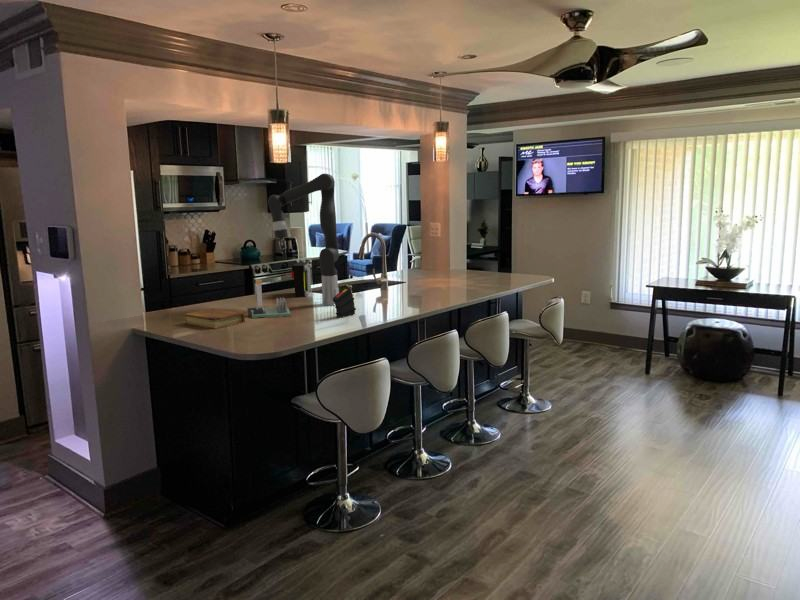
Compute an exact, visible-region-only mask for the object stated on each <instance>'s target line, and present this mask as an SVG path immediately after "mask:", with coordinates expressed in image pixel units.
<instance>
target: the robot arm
mask: <svg viewBox="0 0 800 600" xmlns="http://www.w3.org/2000/svg"><path fill="white" fill-rule="evenodd" d="M335 183H336V182H335V179H334V177H333V175H331V174H329V173H321V174H319V175H318V176H317V177H315V178H313V179H312V180H309V181H307V182H305V183H303V184H301V185H298V186H295V187H292V188H290V189H287V190H284V192H283V193H281V194H278V195H277V194H272V195H270V196H268V200H267V204H268V208H269V211H270V214H271V218H272V219H271V220H272V226H273V235H274V239H276V240H277V239H279V241H278V245H279V249H280V252H281V254H282V255H281V256H282V259H283V260H284V261H285V260H287V259H288V255H287V240H285V238H288V237H289V234H288V227H287V223H286V218H285V214H284V212H283V210H282V208H283V207H285V206H286V205H288V204H290V203H292V202H294V201H298V200H299V199H302V198H304V197H306V196H307V195H309V194H311V193H315V192H318V191H320V194H321V202H320V207H319V208H320V209H319V222H320V223H319V224H320V225H319V226H320V228H321V231H322V233H323V236H324V241H325V248H323V249H321V250H320V252H319V256H318V257H319V269H320V272H321V298H322V300H321V303H322V305H324V306H335V305H334V304H335V302H333V297H335V296H336V295H337V294H338V293H340V287H339V286H338V285H339V284H338V283H339V282H338V270H337V268H336V267H335V263H336V262H337V261H338V259H339V257H340V252H339V245H338V237H337V233H338V232H337V215H336V205H335Z"/></svg>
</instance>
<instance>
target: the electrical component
mask: <svg viewBox="0 0 800 600" xmlns="http://www.w3.org/2000/svg"><path fill="white" fill-rule="evenodd" d="M311 268H312V264H311V263H310V262H308V261H307V262H305V261H304V262H303V261H302V262H301V261H300V262H296V263H295V262H294V264H292V265H291V272H290V274H291V278H292V279H293V283H294V298H306V297H307V296H309V294H310V293H311V292H313V289H312V285H311V284H312V283H311V282H312V281H311V280H312V279H311V276H312V275H311Z"/></svg>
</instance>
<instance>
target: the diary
mask: <svg viewBox="0 0 800 600" xmlns="http://www.w3.org/2000/svg"><path fill="white" fill-rule="evenodd" d="M245 315H246V314H245V313H244V312H241V311H233V310H228V309H227V310H226V309H219V308H213V307H212V308H208V309H204V310H198V311H192V312H187V313H184V316H185V317H186V322H185V323H184V324H185V325H188V326H189V325H190V326H195V327H200V328H206V329H213V330H219V329H223V328H226V327H227V326H228V327H232V326H236V325H239V323H240V324H244V323H245V322H246V316H245ZM243 322H244V323H243ZM235 324H236V325H235ZM231 325H232V326H231Z"/></svg>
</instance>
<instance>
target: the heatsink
mask: <svg viewBox="0 0 800 600" xmlns="http://www.w3.org/2000/svg"><path fill="white" fill-rule="evenodd" d="M286 306H287V302H286V299H285V297H276V305H275V307H276V309H277V312H278V313H283V312H287V309H286ZM263 307H264V311H265V314H266V309H265V307H266V305H264V306H263ZM257 308H258V307H257V306H248V307H247V317H248V316H251V317H252V311H251V310H254V314H263V309H257Z"/></svg>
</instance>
